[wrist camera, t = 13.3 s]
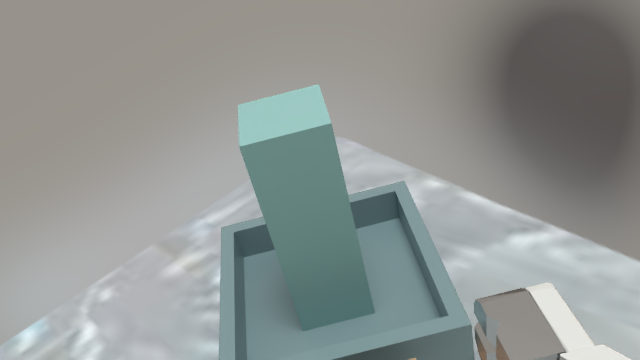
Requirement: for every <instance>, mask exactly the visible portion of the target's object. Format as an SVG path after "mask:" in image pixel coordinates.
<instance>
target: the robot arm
mask: <svg viewBox="0 0 640 360" xmlns="http://www.w3.org/2000/svg"><path fill="white" fill-rule="evenodd" d="M474 313H475V315H476V317H477V319H478V321H479V322H478V323H477V325H476V326H475V339H476V344H477V348H478V352H479V355H480V357H481V360H632V359H630V358H628V357H626V356H624V355H622V354H621V353H619V352H617V351H615V350H613V349H611V348H609V347H608V346H606V345H604V344H601V345H596V346H595V344H594V343H593V341H592V340H591V338H590V337H589V336H588V334H587V333H586V331H585V330H584V328H583V327H582V325H581V324H580V323H579V321H578V320H577V318H576V317H575V315H574V314H573V313H572V311H571V310H570V308H569V307H568V305H567V304H566V302H565V301H564V300H563V298H562V297H561V295H560V294H559V292H558V291H557V290H556V288H555V287H554V285H552V284H551V283H549V282H547V283H543V284H539V285H535V286H530V287H526V288H520V289H516V290H512V291H508V292H504V293H500V294H496V295H492V296H488V297H484V298H480V299H476V300H475V303H474Z"/></svg>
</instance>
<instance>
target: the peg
mask: <svg viewBox="0 0 640 360" xmlns="http://www.w3.org/2000/svg"><path fill="white" fill-rule="evenodd" d="M238 122H239V123H238V124H239V147H240V150H241V153H242V156H243V159H244V162H245V165H246V168H247V170H248V173H249V176H250V179H251V182H252V185H253V188H254V191H255V193H256V196H257V199H258V202H259V205H260V208H261V211H262V214H263V217H264V219H265V222H266V225H267V228H268V231H269V234H270V237H271V240H272V242H273V245H274V248H275V251H276V254H277V257H278V260H279V263H280V265H281V268H282V271H283V274H284V277H285V280H286V283H287V286H288V288H289V291H290V294H291V297H292V300H293V303H294V306H295V309H296V311H297V314H298V317H299V320H300V323H301V326H302V329H303V331H307V330H311V329H315V328H319V327H322V326H326V325H330V324H334V323H338V322H342V321H346V320H350V319H354V318H358V317H362V316H366V315H370V314H374V313H375V310H374V306H373V302H372V297H371V293H370V289H369V284H368V280H367V276H366V271H365V267H364V263H363V258H362V254H361V250H360V245H359V241H358V237H357V232H356V228H355V224H354V219H353V215H352V211H351V206H350V202H349V198H348V193H347V189H346V185H345V180H344V176H343V172H342V167H341V163H340V159H339V154H338V150H337V146H336V141H335V137H334V133H333V128H332V124H331V121H330V117H329V114H328V111H327V108H326V105H325V102H324V99H323V96H322V93H321V90H320V87H319V84H318V85H314V86H310V87H306V88H302V89H298V90H295V91H291V92H287V93H283V94H279V95H275V96H271V97H267V98H263V99H260V100H256V101H252V102H248V103H244V104H240V105H238Z"/></svg>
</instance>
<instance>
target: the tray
mask: <svg viewBox="0 0 640 360" xmlns="http://www.w3.org/2000/svg"><path fill="white" fill-rule="evenodd" d="M348 198H349V202H350V206H351V211H352V215H353V219H354V224H355V228H356V232H357V237H358V241H359V245H360V250H361V254H362V258H363V263H364V267H365V271H366V276H367V280H368V284H369V289H370V293H371V297H372V302H373V306H374V310H375V313H374V314H370V315H366V316H362V317H358V318H354V319H350V320H346V321H342V322H338V323H334V324H330V325H326V326H322V327H319V328H315V329H311V330H307V331H303V329H302V326H301V323H300V320H299V317H298V314H297V311H296V309H295V306H294V303H293V300H292V297H291V294H290V291H289V288H288V286H287V283H286V280H285V277H284V274H283V271H282V268H281V265H280V263H279V260H278V257H277V254H276V251H275V248H274V245H273V242H272V240H271V237H270V234H269V231H268V228H267V225H266V222H265V219H264V217H260V218H257V219H253V220H249V221H245V222H241V223H237V224H233V225H229V226H225V227H221V279H220V336H219V360H408V359H412V358H416V359H417V360H474V350H473V338H472V327H471V323H470V320H469V318H468V316H467V314H466V312H465V310H464V308H463V305H462V303H461V301H460V299H459V297H458V295H457V293H456V291H455V288H454V286H453V284H452V282H451V280H450V278H449V276H448V273H447V271H446V269H445V267H444V265H443V263H442V261H441V258H440V256H439V254H438V252H437V250H436V248H435V246H434V244H433V241H432V239H431V237H430V235H429V233H428V231H427V229H426V226H425V224H424V222H423V220H422V218H421V216H420V214H419V211H418V209H417V207H416V205H415V203H414V201H413V199H412V196H411V194H410V192H409V190H408V188H407V186H406V184H405V182H404V181H402V182H398V183H394V184H390V185H386V186H382V187H378V188H374V189H370V190H366V191H362V192H358V193H354V194H351V195H348Z"/></svg>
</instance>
